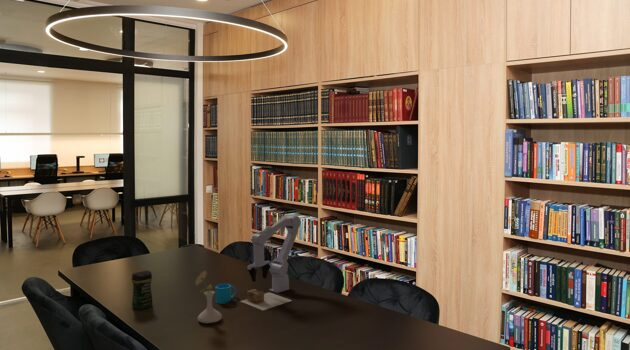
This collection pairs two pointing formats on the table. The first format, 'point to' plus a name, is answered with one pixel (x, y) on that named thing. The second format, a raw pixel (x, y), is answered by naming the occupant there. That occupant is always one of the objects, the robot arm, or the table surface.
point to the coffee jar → (142, 290)
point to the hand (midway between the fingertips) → (259, 279)
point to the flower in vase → (208, 303)
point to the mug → (224, 293)
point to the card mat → (268, 301)
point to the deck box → (255, 296)
